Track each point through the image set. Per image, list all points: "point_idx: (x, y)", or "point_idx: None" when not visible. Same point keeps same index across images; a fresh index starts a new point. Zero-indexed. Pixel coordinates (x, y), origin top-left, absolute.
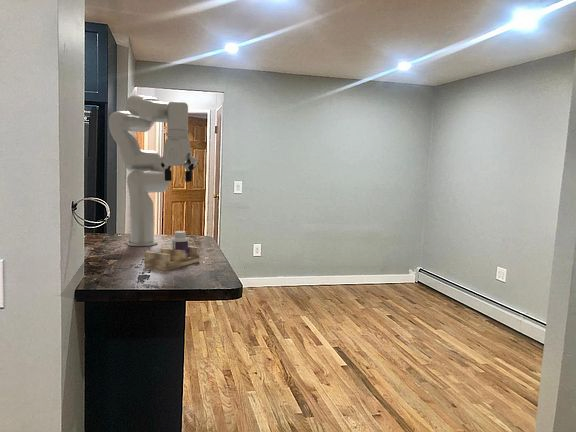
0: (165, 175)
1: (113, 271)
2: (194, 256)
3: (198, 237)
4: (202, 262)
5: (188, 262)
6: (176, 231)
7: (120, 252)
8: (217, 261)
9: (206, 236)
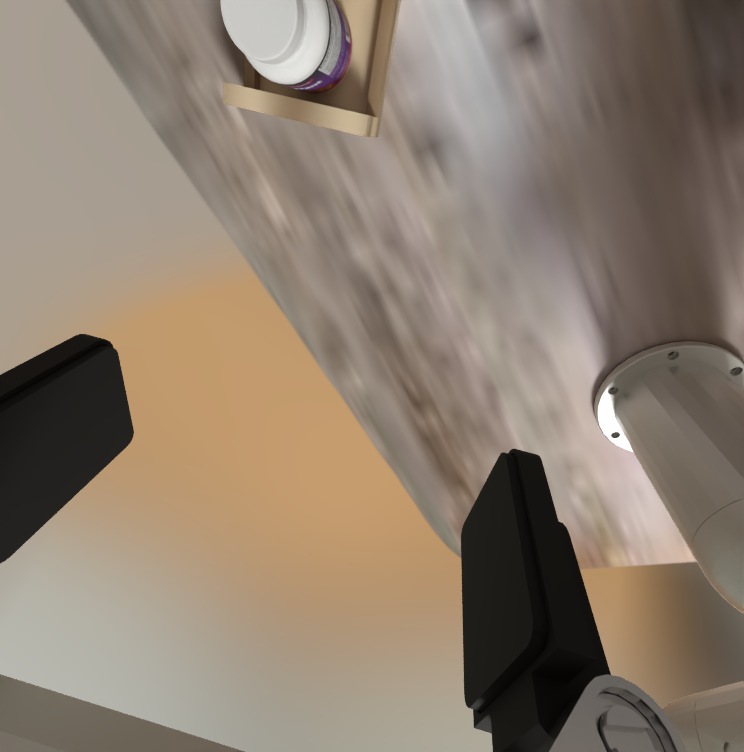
0: (537, 521)
1: None
2: (245, 66)
3: None
4: None
5: None
6: (289, 13)
7: (733, 177)
8: (193, 144)
9: (460, 556)
